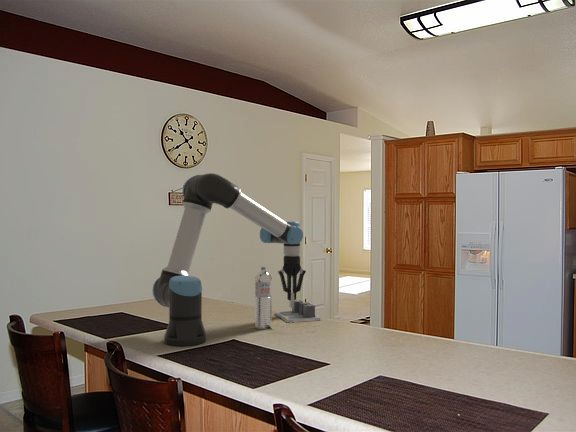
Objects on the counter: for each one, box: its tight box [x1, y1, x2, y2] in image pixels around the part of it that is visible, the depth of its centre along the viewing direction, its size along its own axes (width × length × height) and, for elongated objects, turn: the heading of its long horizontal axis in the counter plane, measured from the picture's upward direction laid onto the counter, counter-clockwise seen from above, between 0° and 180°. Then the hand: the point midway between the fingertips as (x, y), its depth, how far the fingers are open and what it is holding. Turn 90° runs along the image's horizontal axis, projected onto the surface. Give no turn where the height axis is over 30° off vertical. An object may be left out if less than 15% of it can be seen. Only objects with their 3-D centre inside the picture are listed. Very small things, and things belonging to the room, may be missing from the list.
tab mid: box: [299, 301, 311, 315], centre depth 221 cm, size 4×4×6 cm
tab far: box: [291, 299, 304, 313], centre depth 227 cm, size 4×4×6 cm
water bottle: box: [254, 266, 273, 330], centre depth 205 cm, size 7×7×25 cm
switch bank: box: [274, 310, 321, 323], centre depth 220 cm, size 19×15×3 cm
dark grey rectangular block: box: [303, 303, 316, 318], centre depth 215 cm, size 4×4×6 cm
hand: (291, 307), depth 226 cm, fingers closed
